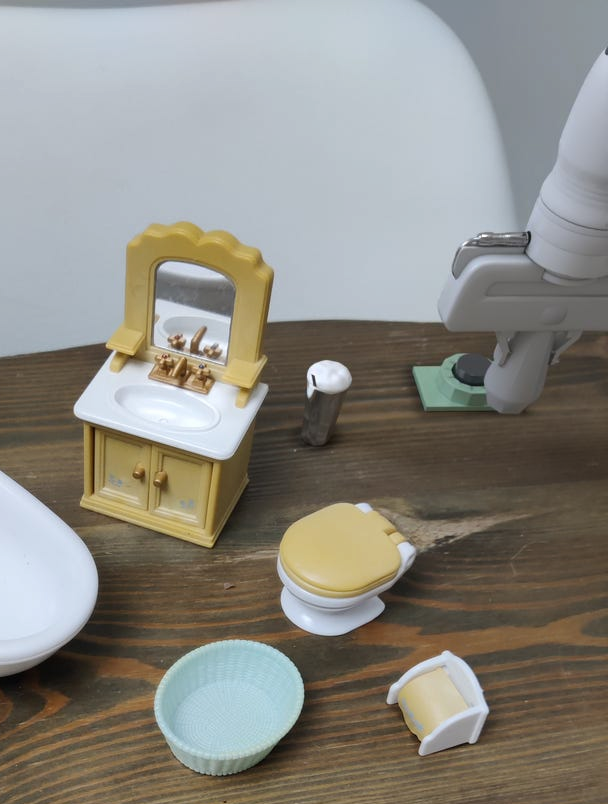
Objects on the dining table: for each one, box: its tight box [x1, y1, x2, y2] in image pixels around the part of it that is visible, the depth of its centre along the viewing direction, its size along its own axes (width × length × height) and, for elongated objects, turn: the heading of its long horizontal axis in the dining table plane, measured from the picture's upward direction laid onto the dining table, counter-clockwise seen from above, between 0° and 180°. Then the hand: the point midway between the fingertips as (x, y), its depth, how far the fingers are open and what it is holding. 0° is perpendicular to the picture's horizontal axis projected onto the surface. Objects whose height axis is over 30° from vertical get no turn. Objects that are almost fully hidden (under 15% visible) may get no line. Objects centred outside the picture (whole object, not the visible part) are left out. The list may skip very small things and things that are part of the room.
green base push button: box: [411, 352, 498, 412], centre depth 111 cm, size 11×7×2 cm, turn 92°
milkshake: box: [300, 359, 353, 447], centre depth 103 cm, size 4×5×10 cm
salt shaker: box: [484, 306, 567, 415], centre depth 96 cm, size 6×6×13 cm
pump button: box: [454, 352, 493, 386], centre depth 110 cm, size 4×4×2 cm
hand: (523, 361), depth 97 cm, fingers closed on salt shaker, 3 cm apart
